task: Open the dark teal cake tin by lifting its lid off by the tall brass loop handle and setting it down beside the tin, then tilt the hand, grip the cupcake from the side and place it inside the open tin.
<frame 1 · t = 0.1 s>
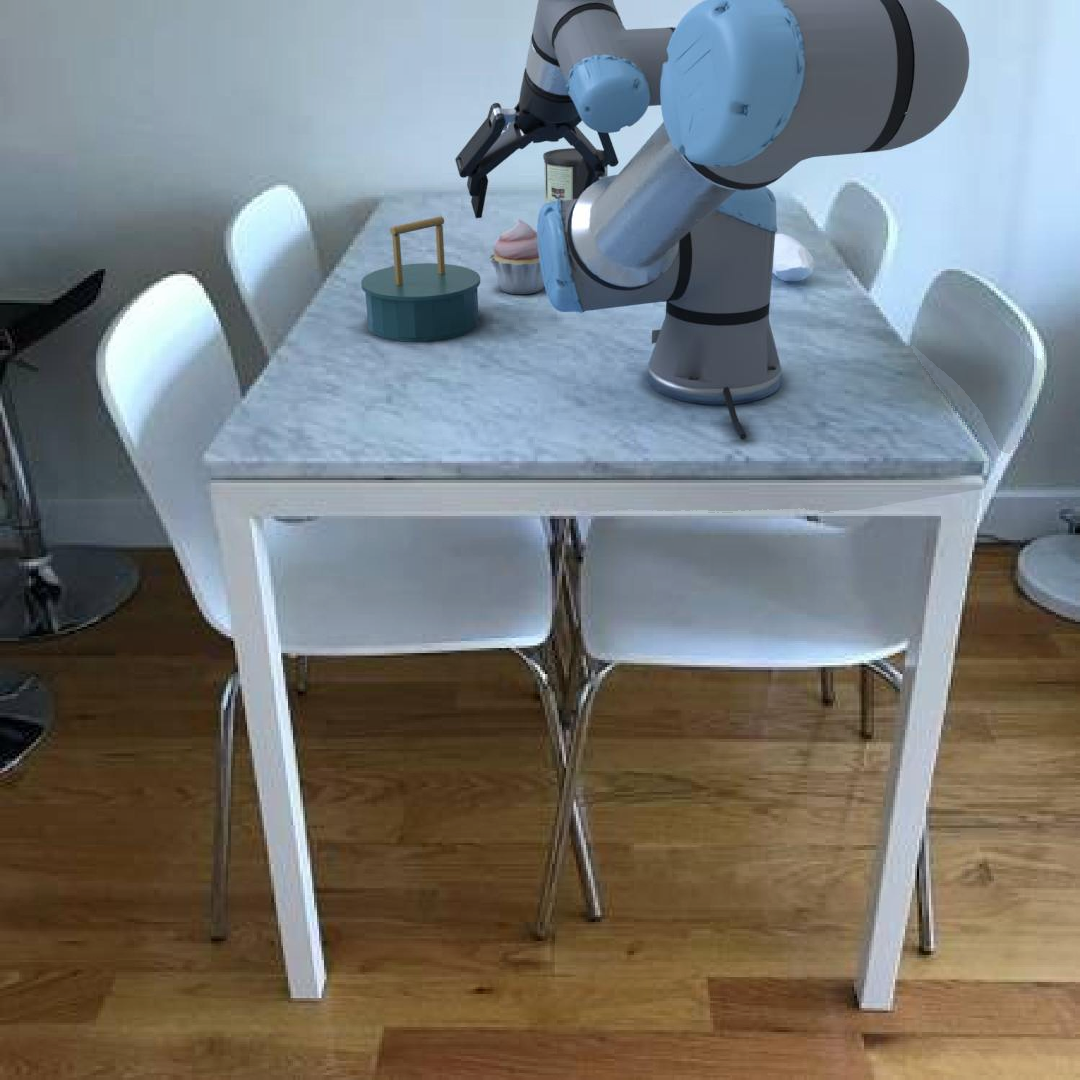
hand: (527, 206, 157), 15 cm above the table, tool tilted 35°, fingers open, 13 cm apart
tin: (423, 324, 164), on the table
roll: (788, 281, 180), on the table
coffee can: (575, 243, 201), on the table
tin lid: (421, 283, 162), point 5 cm above the table, touching tin
cupcake: (521, 290, 178), on the table
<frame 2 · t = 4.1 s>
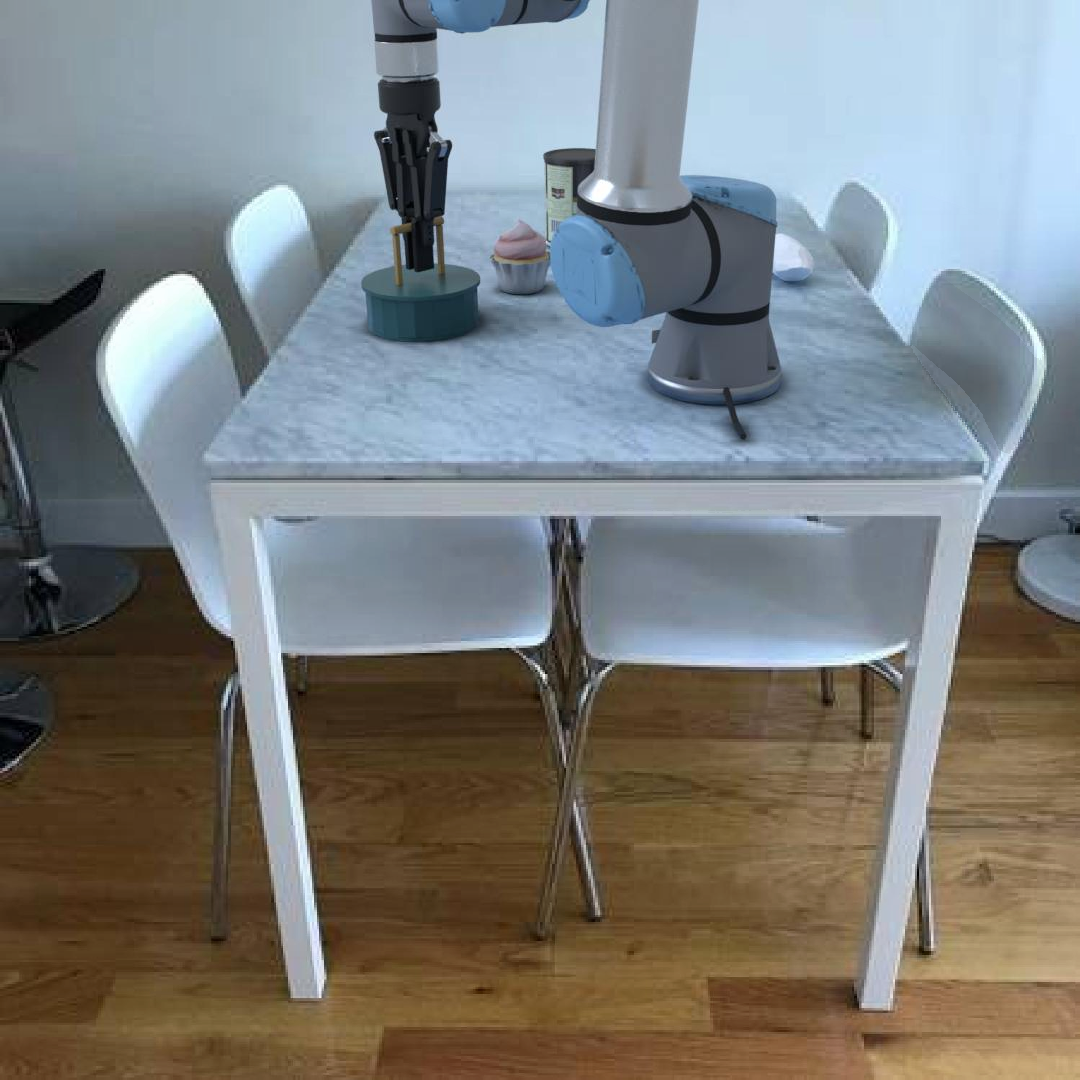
hand: (420, 268, 161), 8 cm above the table, tool pointing down, fingers closed on tin lid
tin lid: (421, 283, 162), point 6 cm above the table, touching gripper
everything else where it was.
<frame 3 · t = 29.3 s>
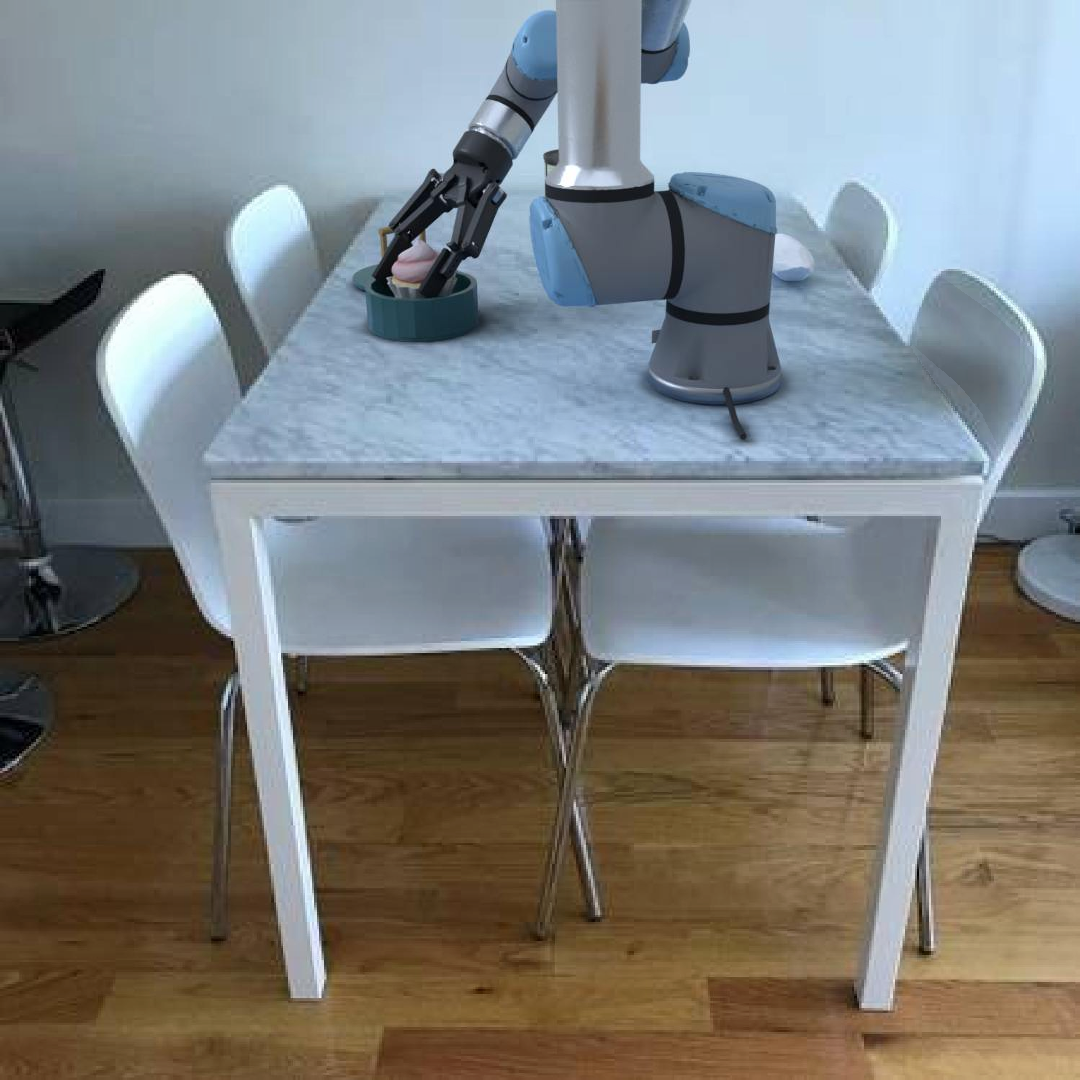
hand: (402, 289, 160), 5 cm above the table, tool tilted 45°, fingers closed on cupcake, 9 cm apart
tin lid: (406, 278, 181), point 1 cm above the table
cupcake: (423, 315, 163), point 1 cm above the table, touching gripper
everything else where it was.
when the fingers open (6 cm above the table, at t = 35.4 s): cupcake stays where it is, resting on tin.
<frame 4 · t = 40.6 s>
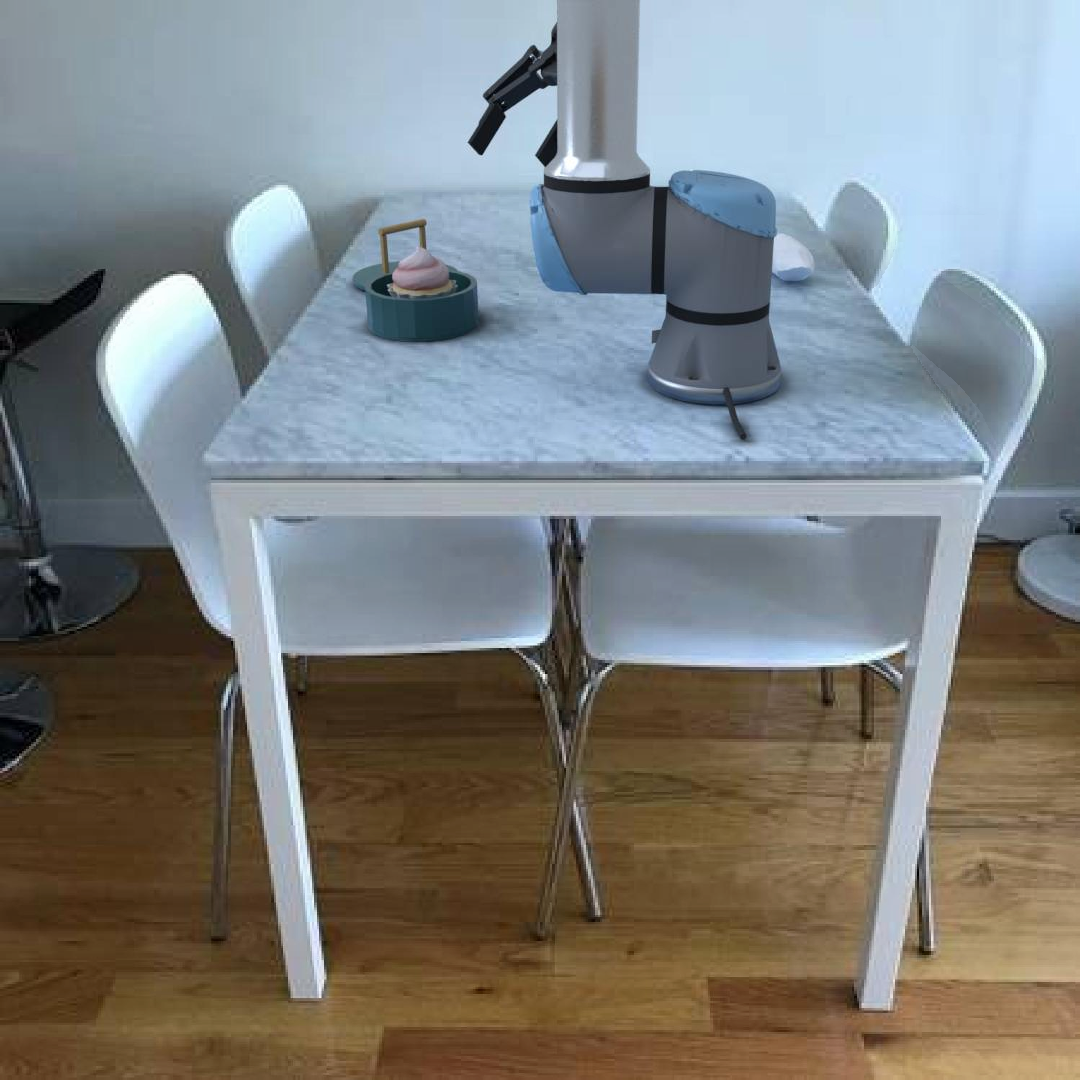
hand: (507, 155, 164), 20 cm above the table, tool tilted 45°, fingers open, 13 cm apart
cupcake: (424, 322, 164), resting on tin
everything else where it was.
at the end: tin lid inside the target area (0.0 cm from its centre), point 0.6 cm above the table; cupcake 0.1 cm off-centre in the tin, point 0.3 cm above the tin's base; cupcake tilted 0° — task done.
